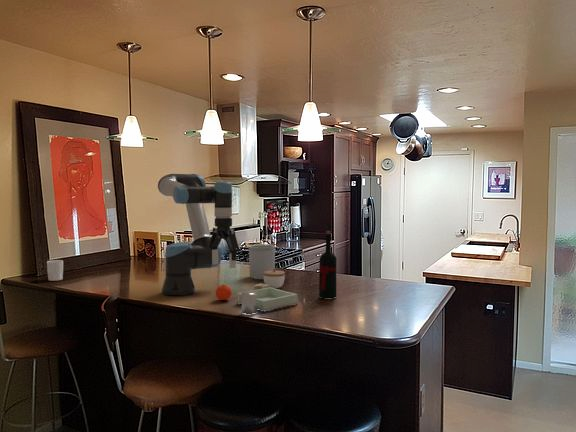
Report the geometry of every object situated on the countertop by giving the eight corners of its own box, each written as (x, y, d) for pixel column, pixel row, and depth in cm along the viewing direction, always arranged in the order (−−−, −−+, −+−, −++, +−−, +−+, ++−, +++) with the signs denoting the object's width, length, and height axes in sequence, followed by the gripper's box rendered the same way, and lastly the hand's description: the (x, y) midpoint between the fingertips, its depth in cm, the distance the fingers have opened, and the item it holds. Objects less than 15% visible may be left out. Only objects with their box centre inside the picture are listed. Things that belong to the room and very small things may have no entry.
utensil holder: (244, 278, 246) (244, 246, 245) (253, 274, 260) (253, 243, 259) (270, 280, 242) (270, 247, 241) (278, 275, 257) (278, 244, 256)
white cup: (66, 278, 245) (66, 260, 245) (58, 281, 238) (57, 262, 237) (53, 278, 246) (52, 259, 246) (43, 280, 238) (43, 262, 238)
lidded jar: (265, 290, 218) (265, 271, 217) (261, 286, 228) (261, 267, 228) (287, 289, 221) (287, 270, 220) (281, 284, 231) (281, 266, 231)
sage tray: (237, 303, 193) (237, 293, 193) (270, 297, 205) (270, 287, 204) (263, 312, 179) (263, 301, 179) (297, 304, 191) (297, 294, 191)
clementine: (216, 298, 203) (216, 282, 202) (232, 298, 203) (232, 282, 203) (214, 302, 195) (214, 286, 194) (231, 302, 195) (231, 286, 195)
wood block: (253, 296, 207) (253, 285, 207) (260, 294, 211) (260, 283, 211) (262, 297, 204) (262, 286, 204) (269, 295, 209) (269, 284, 208)
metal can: (238, 313, 179) (238, 293, 178) (250, 310, 183) (250, 290, 182) (247, 316, 174) (247, 295, 174) (260, 313, 178) (259, 293, 178)
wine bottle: (314, 299, 201) (314, 232, 199) (323, 294, 210) (323, 230, 208) (330, 301, 197) (331, 233, 195) (339, 296, 206) (339, 231, 204)
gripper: (247, 218, 190) (247, 268, 191) (215, 215, 208) (215, 261, 210) (232, 219, 185) (233, 270, 186) (200, 216, 203) (201, 263, 205)
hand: (223, 266), depth 198 cm, fingers open, 13 cm apart
